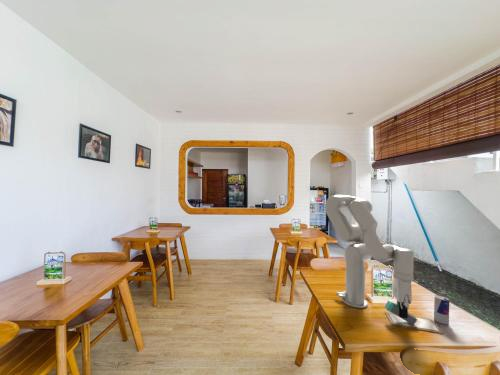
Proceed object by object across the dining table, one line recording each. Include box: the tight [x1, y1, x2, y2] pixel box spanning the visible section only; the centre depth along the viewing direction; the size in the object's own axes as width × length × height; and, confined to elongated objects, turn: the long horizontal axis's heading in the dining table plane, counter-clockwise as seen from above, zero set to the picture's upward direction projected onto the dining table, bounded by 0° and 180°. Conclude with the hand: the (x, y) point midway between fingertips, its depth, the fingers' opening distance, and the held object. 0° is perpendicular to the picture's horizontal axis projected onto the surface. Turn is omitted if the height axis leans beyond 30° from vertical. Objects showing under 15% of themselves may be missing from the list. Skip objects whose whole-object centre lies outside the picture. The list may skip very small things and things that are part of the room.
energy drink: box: [433, 294, 450, 328], centre depth 108 cm, size 5×5×12 cm
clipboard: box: [384, 311, 445, 335], centre depth 108 cm, size 20×11×1 cm, turn 74°
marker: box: [384, 300, 417, 325], centre depth 107 cm, size 4×3×12 cm
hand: (401, 314), depth 107 cm, fingers closed on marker, 3 cm apart
